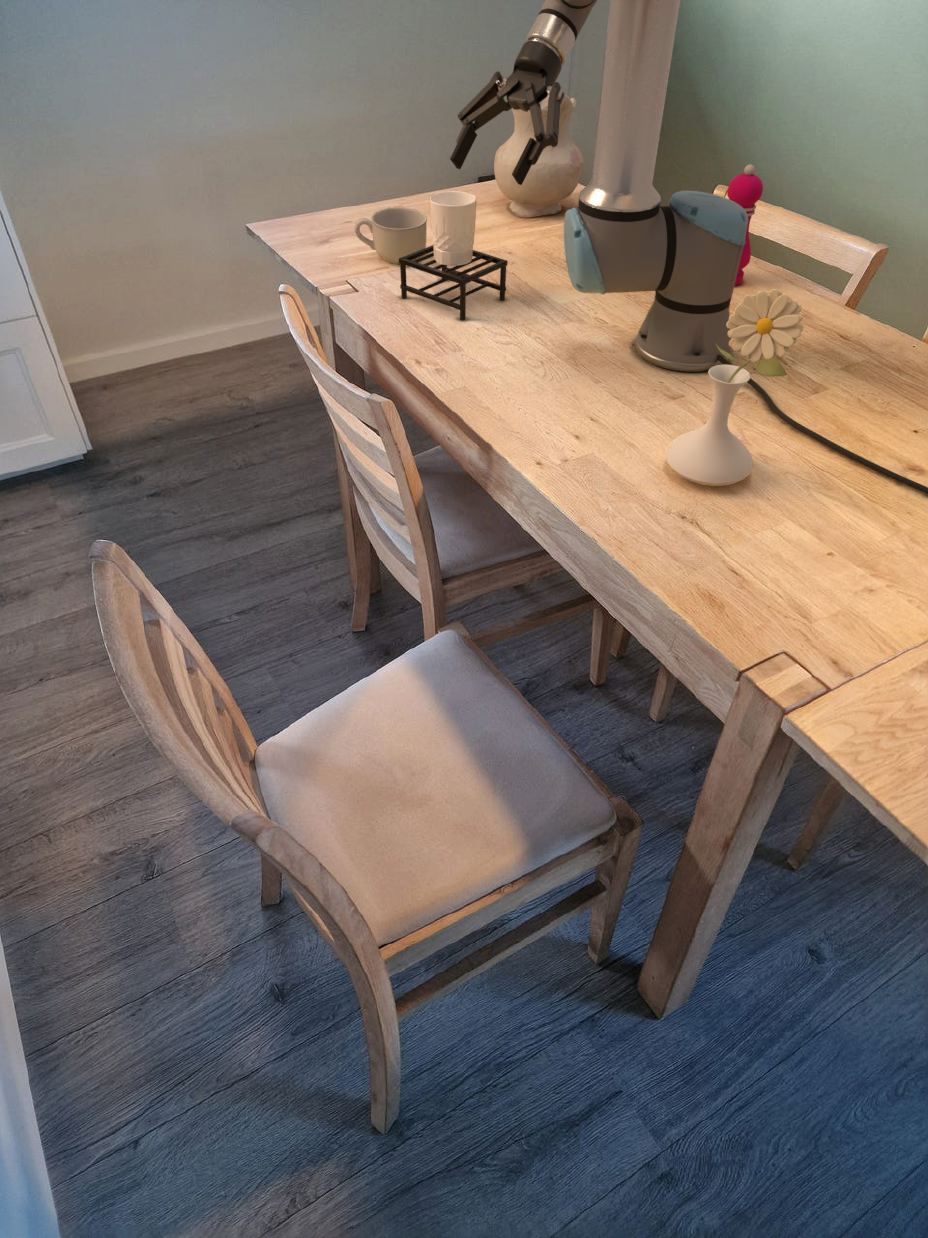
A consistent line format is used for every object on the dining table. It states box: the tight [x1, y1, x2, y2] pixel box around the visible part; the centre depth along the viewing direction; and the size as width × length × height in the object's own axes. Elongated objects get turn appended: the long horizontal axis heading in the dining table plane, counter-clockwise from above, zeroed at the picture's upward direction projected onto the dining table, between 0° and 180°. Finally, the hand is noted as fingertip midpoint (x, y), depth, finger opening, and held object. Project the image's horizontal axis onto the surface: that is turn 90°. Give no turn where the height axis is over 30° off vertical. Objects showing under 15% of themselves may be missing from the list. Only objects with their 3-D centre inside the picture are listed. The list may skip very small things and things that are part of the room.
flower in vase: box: [664, 288, 805, 487], centre depth 102 cm, size 13×11×25 cm
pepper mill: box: [726, 164, 764, 287], centre depth 152 cm, size 7×7×20 cm
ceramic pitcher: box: [493, 94, 584, 218], centre depth 181 cm, size 22×20×25 cm
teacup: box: [354, 206, 428, 265], centre depth 163 cm, size 14×11×8 cm
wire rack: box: [399, 244, 508, 321], centre depth 149 cm, size 15×12×7 cm
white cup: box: [429, 190, 478, 267], centre depth 143 cm, size 8×8×10 cm
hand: (485, 171), depth 143 cm, fingers open, 13 cm apart
